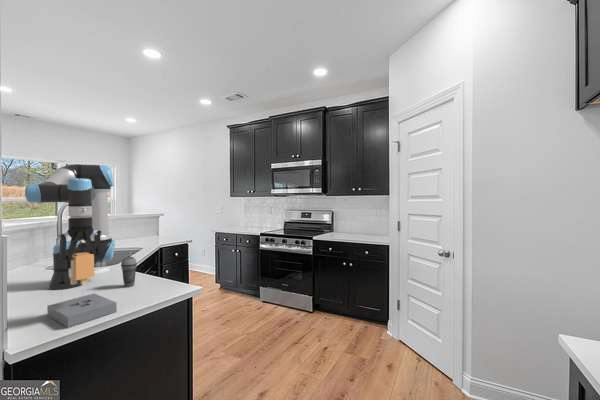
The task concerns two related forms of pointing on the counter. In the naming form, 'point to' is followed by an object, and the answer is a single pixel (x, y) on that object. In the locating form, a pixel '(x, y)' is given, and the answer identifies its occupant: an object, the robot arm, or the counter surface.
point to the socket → (81, 309)
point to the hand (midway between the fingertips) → (81, 274)
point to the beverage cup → (129, 270)
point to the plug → (82, 267)
